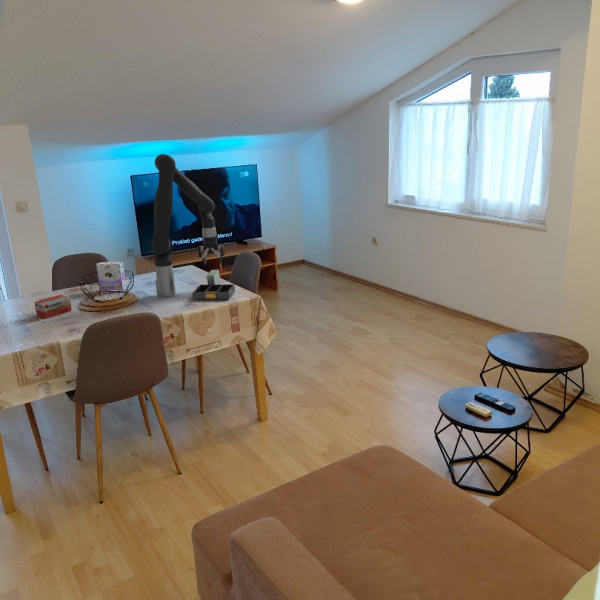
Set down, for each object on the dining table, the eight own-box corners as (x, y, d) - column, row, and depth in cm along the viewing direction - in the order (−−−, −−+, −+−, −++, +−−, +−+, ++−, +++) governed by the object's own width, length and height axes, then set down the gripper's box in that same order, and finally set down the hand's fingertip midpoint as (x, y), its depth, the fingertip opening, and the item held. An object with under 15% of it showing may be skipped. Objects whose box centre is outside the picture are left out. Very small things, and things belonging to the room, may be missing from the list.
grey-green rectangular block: (208, 291, 323) (206, 275, 320) (213, 284, 334) (212, 269, 331) (215, 290, 322) (213, 275, 320) (220, 284, 334) (218, 269, 331)
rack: (193, 300, 307) (192, 292, 305) (201, 291, 321) (200, 284, 320) (228, 300, 305) (228, 292, 303) (234, 291, 319) (234, 283, 318)
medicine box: (44, 319, 286) (42, 304, 284) (36, 316, 291) (33, 301, 289) (72, 311, 298) (70, 296, 295) (63, 308, 302) (61, 294, 300)
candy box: (126, 289, 333) (123, 261, 328) (123, 292, 327) (119, 263, 322) (103, 289, 334) (99, 261, 329) (99, 292, 329) (95, 264, 324)
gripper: (195, 237, 316) (198, 266, 321) (220, 236, 314) (223, 265, 319) (198, 234, 323) (202, 262, 328) (223, 233, 322) (226, 262, 326)
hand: (212, 263), depth 324 cm, fingers open, 8 cm apart
